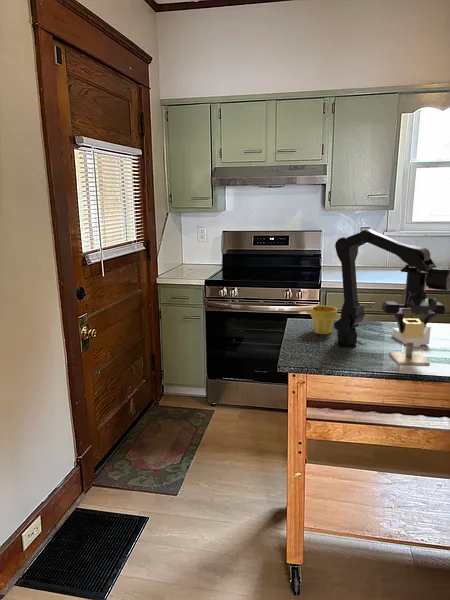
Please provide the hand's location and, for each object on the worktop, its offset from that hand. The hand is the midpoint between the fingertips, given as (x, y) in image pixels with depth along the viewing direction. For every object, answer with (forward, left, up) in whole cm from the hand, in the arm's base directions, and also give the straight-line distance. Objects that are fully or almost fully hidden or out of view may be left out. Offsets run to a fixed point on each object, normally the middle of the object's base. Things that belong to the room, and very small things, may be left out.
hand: (410, 332), depth 149 cm
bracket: (+7, +20, -10) cm, 23 cm away
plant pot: (-24, +30, -10) cm, 39 cm away
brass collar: (0, 0, -1) cm, 1 cm away
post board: (0, 0, -9) cm, 9 cm away
